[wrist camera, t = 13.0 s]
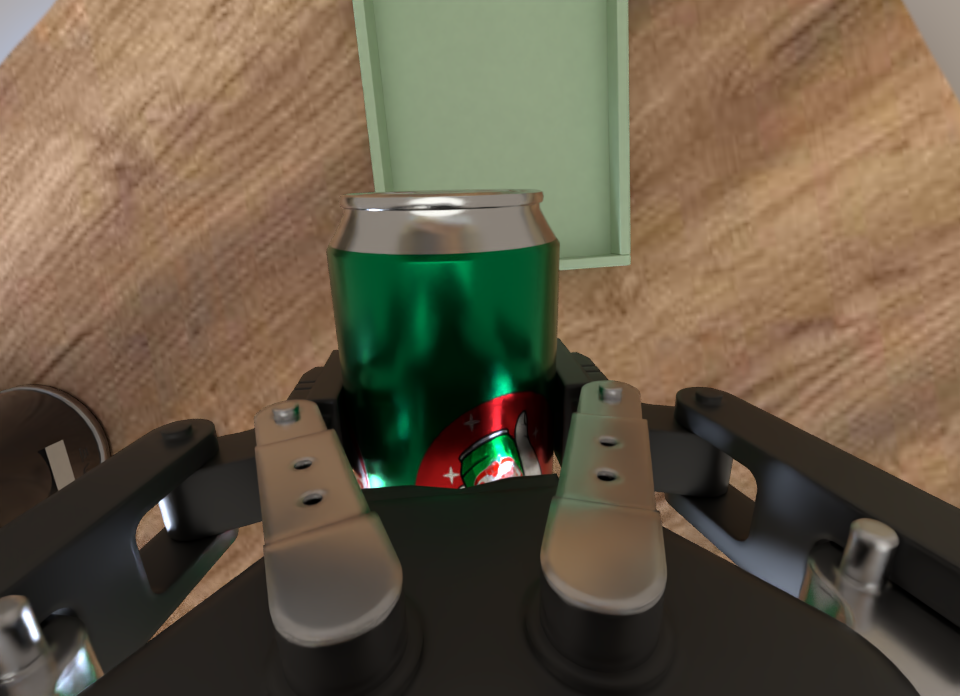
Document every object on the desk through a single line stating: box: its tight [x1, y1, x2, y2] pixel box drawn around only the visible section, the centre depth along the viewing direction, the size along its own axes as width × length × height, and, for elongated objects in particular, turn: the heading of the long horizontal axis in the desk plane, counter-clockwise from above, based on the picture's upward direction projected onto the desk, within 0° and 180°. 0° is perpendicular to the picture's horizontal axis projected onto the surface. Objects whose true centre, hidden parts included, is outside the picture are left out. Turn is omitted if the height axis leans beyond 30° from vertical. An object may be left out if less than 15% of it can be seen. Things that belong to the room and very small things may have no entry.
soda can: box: [326, 189, 560, 489], centre depth 12 cm, size 5×5×12 cm
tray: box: [352, 0, 631, 270], centre depth 27 cm, size 19×14×3 cm
